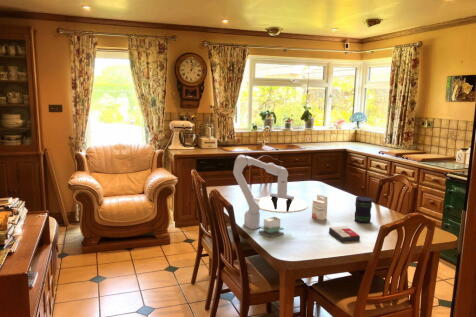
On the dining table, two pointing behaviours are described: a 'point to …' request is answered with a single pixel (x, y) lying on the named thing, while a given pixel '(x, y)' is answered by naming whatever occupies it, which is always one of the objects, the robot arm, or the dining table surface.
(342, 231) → the calculator
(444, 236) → the dining table surface
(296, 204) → the lazy susan
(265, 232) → the stand
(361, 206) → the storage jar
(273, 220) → the block
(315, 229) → the dining table surface
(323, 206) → the ink cartridge box
